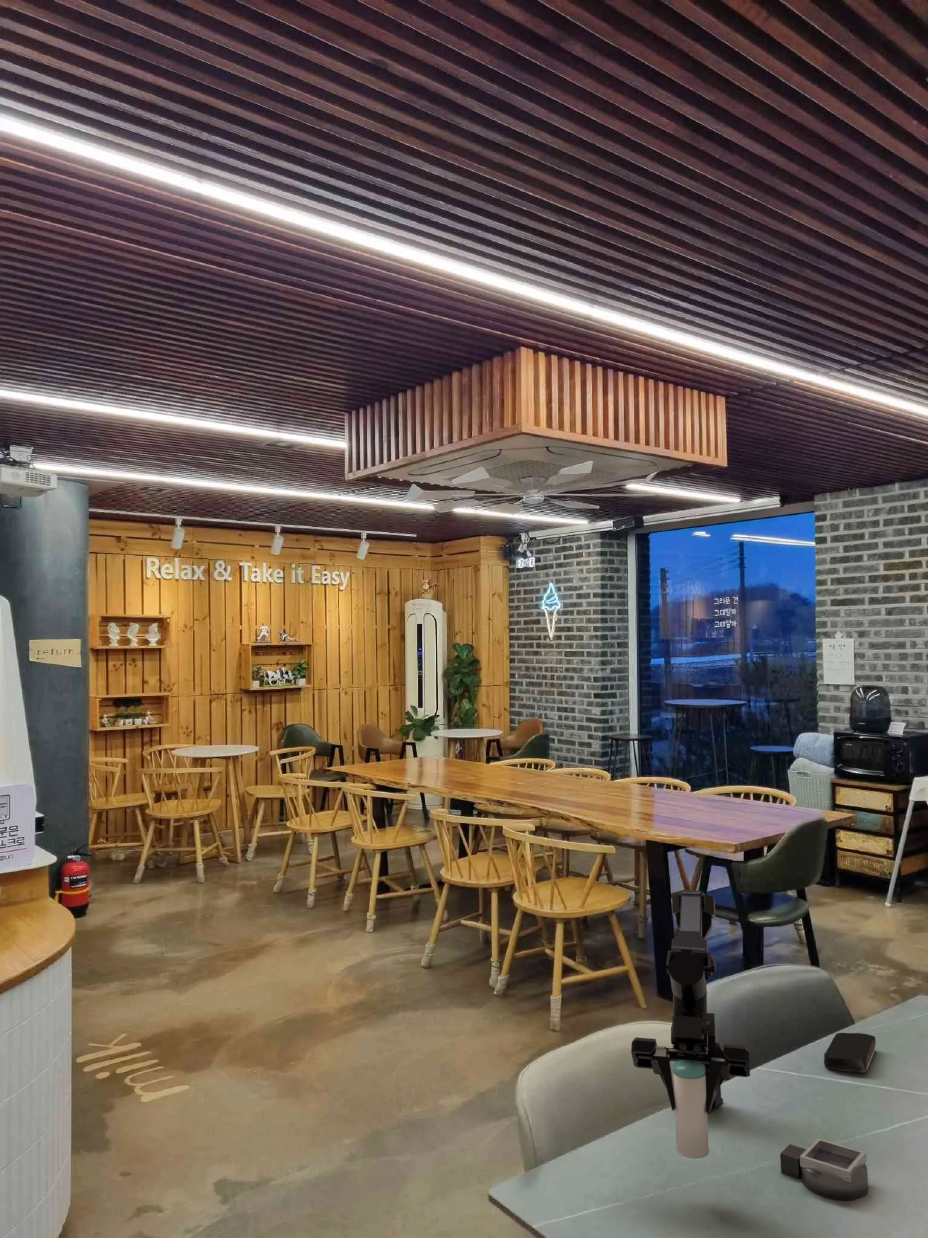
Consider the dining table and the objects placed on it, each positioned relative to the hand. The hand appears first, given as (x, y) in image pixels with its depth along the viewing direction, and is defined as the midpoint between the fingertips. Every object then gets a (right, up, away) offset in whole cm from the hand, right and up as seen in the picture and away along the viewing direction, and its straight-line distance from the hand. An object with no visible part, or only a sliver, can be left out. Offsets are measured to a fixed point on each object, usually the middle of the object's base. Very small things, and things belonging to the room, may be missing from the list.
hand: (690, 1111), depth 146 cm
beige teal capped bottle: (+1, -7, +1) cm, 7 cm away
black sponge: (+47, -17, +50) cm, 71 cm away
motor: (+23, -13, +4) cm, 26 cm away
